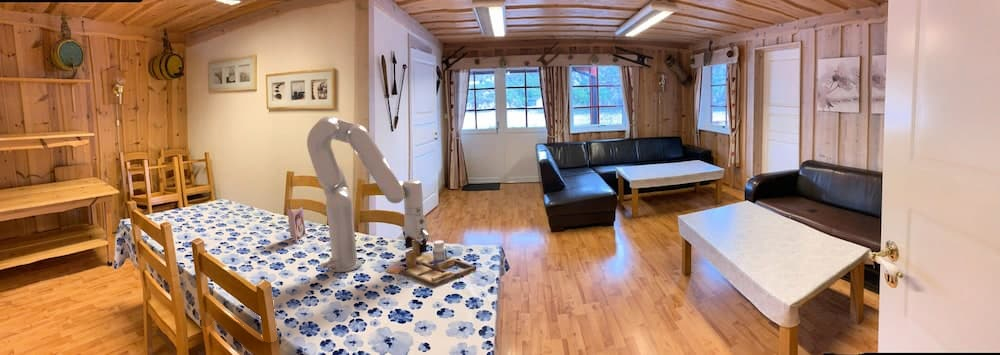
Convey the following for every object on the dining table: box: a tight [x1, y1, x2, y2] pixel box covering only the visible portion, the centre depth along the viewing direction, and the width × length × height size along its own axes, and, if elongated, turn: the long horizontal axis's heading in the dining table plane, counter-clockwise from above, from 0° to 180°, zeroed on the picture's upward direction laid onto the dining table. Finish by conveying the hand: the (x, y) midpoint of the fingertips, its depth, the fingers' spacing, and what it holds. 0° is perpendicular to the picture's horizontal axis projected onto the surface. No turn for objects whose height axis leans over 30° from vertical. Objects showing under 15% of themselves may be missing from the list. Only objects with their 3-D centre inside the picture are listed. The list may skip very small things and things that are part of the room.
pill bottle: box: [432, 239, 448, 266], centre depth 195 cm, size 6×5×10 cm
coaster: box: [386, 265, 406, 274], centre depth 193 cm, size 7×7×1 cm
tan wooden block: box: [404, 249, 433, 276], centre depth 190 cm, size 8×9×7 cm
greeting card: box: [286, 206, 306, 243], centre depth 235 cm, size 11×7×15 cm, turn 1°
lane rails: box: [400, 256, 477, 288], centre depth 189 cm, size 21×20×2 cm
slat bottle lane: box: [411, 239, 456, 270], centre depth 200 cm, size 8×20×7 cm, turn 46°
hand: (416, 250), depth 206 cm, fingers open, 9 cm apart
